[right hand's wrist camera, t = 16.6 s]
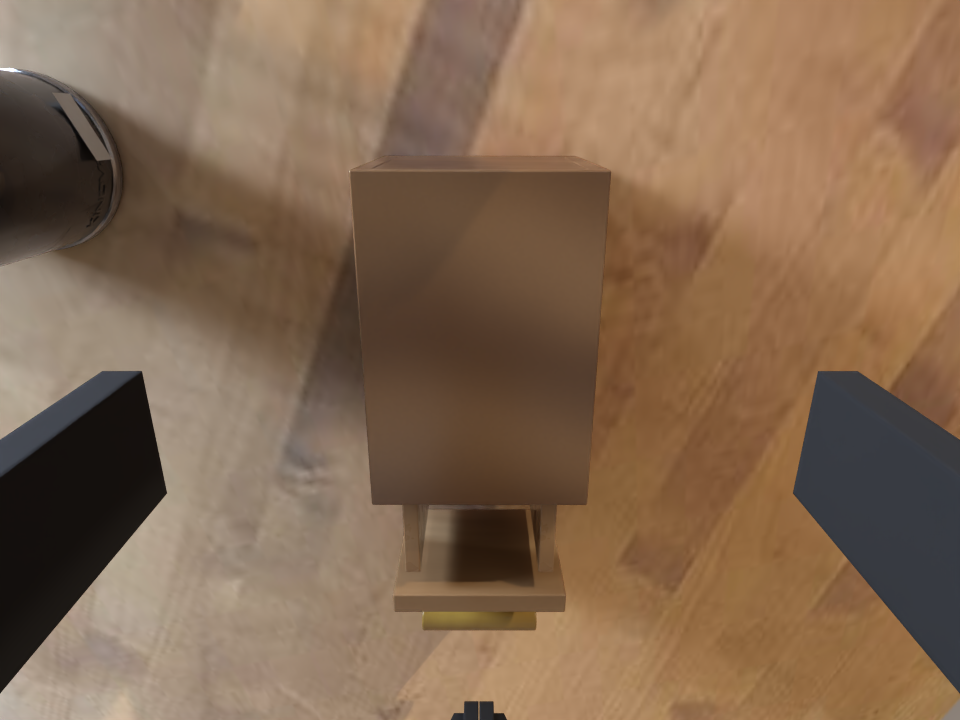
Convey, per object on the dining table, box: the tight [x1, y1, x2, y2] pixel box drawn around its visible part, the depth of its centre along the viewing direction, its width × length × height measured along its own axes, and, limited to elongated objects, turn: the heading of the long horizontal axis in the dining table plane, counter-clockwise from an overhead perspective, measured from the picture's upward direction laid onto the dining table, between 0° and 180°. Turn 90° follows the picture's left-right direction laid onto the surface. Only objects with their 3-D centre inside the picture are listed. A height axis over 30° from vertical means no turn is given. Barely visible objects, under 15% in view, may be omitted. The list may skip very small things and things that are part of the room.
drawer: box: [393, 505, 566, 630], centre depth 37 cm, size 20×10×8 cm, turn 0°
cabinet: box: [349, 156, 611, 505], centre depth 33 cm, size 16×11×10 cm
